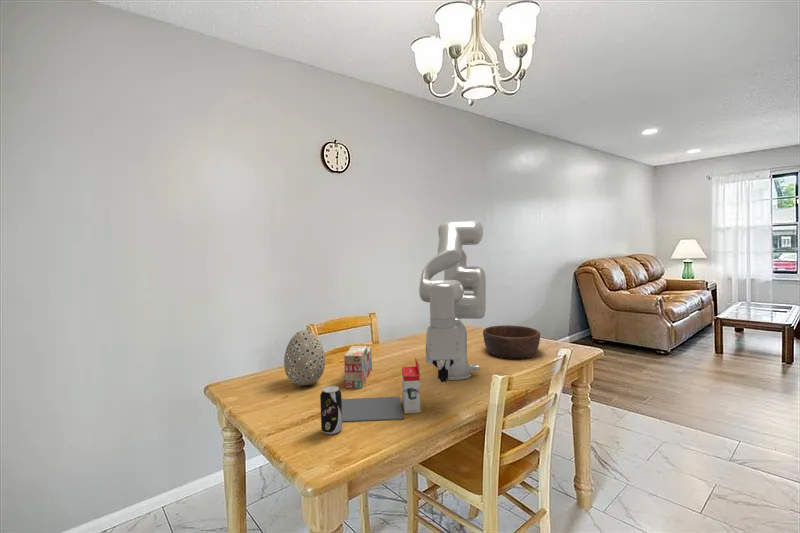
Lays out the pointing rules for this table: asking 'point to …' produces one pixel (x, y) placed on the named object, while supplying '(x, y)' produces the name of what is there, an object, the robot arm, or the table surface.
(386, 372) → the table surface
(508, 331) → the wooden bowl
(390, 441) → the table surface
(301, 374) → the ornament
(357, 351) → the stack of blocks
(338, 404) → the beverage can
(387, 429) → the table surface
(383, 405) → the mat
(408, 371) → the ink box
